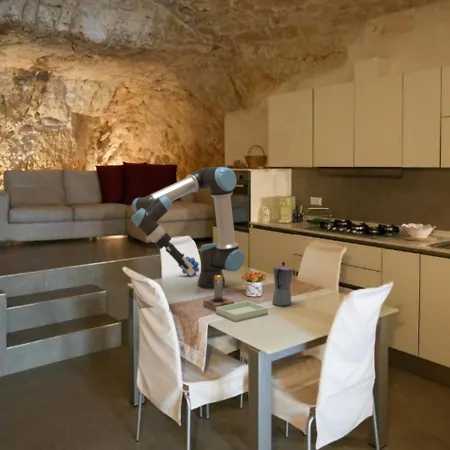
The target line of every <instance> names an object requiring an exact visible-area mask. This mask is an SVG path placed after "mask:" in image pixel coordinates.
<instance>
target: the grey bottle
mask: <svg viewBox="0 0 450 450" xmlns="http://www.w3.org/2000/svg"><path fill="white" fill-rule="evenodd" d="M223 276H224V274H223V275H214V288H213V289H214V291H213V293H214V297H213V298H214V302H216V303H219V302H223V298H224V296H223V288H224V287H223Z"/></svg>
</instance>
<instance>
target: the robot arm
mask: <svg viewBox="0 0 450 450" xmlns="http://www.w3.org/2000/svg"><path fill="white" fill-rule="evenodd" d="M236 185H237V175H236V174H235V172H234V170H232V169H231V168H229V167H226V166H225V167H224V166H215V167H214V166H213V167H211V166H207V167H204V168H200V169H198V170H196V171H193V172H192V173H190V174H188V175H186V177H185V178H184V179H183V178H182V179H181V180H179V181H177V182H175V183H173V184H170V185H168V186H166V187H163V188H162V189H160V190H158V191H155V192H153V193H151V194H149V195H146V196H144V197H137V198H135V199H133V200H132V203H131V206H132V207H131V208H132V211H134V212H135V213H134V214H133V215H132V216H131V217H130V220H131V221H132V222H133V224H134V225H135V226H136V227H137V228H138V229H139V231H141V232H142V233H143V235H145V236H146V237H147V240H148V241H151V242H152V243H154V245H155V247H157V249H159V250H162V249H163V248H165V251H166V252H167V253H168V254H169V256H171V257H172V258H173V259H174V260H175V261H176V263H177V264H178V267H179V268H180V266H182V267H183V269H184V270H185V271H186V272H187V273H188V274H189V275H190V276H189V277H191V276H194V275H193V274H194V273H195V271H194V270H193V269H192V267H193V265H192V264H191V263H190V262H189V261H188V260H187V259H186V256H185V254H184V253H181V251H179V250H178V248H177V247H175V245H174V244H173V243H171V242H170V241H171V240H172V236H170V234H168V232H166V230H165V229H164V228H163V227H162V226H161V225H160V224H159V223H158V222H159V220H160V219H161V218H162V217H163V216H165V215H166V214H167V213H168V212H169V210H170V209H171V208H172V207H173V203H172V202H173V201H176V200H177V199H180V198H182V197H183V196H186V195H188V194H190V193H197V192H199V191H204V190H205V191H207V190H209V195H210V196H211V197H212V198H213V204H214V211H215V212H214V213H215V222H216V230H217V231H216V232H217V240H218V242H215V243H205V244H202V245H201V247H200V251H199V252H200V254H199V255H200V273H199V276H198V280H197V286H198V288H201V289H208V290H209V289H210V290H211V289H214V275H223V288H224V287H226V279H225V276H224V273H223V270H224V271H226V272H236V271H239V270H240V269H241V268H242V266H243V264H244V262H245V254H244V252H243V251H242V250H241V249H240V247H239V243H238V242H237V241H236V238H235V237H236V236H235V228H234V219H233V218H234V217H233V210H232V208H233V207H232V199H231V196H232V195H233V194H234V189H235V188H236ZM187 273H186V274H187Z"/></svg>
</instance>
